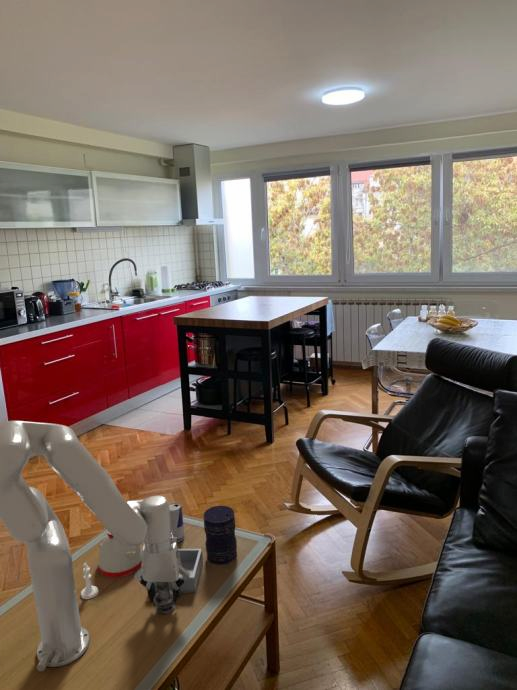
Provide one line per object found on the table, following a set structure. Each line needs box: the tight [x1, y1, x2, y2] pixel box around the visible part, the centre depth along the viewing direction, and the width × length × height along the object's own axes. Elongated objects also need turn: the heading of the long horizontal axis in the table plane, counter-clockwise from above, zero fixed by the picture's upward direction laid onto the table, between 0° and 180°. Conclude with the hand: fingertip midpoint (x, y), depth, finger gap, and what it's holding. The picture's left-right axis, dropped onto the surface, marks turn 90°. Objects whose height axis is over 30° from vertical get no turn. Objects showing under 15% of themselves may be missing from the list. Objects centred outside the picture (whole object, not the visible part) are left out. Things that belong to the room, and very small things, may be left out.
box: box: [152, 548, 204, 594], centre depth 157 cm, size 14×14×5 cm
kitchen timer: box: [97, 532, 143, 578], centre depth 164 cm, size 14×14×15 cm
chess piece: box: [80, 562, 99, 600], centre depth 151 cm, size 5×5×10 cm
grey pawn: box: [153, 582, 176, 616], centre depth 143 cm, size 6×6×12 cm
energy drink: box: [169, 502, 185, 543], centre depth 176 cm, size 5×5×12 cm
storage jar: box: [203, 505, 238, 566], centre depth 165 cm, size 10×10×15 cm
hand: (164, 598), depth 144 cm, fingers closed on grey pawn, 5 cm apart
